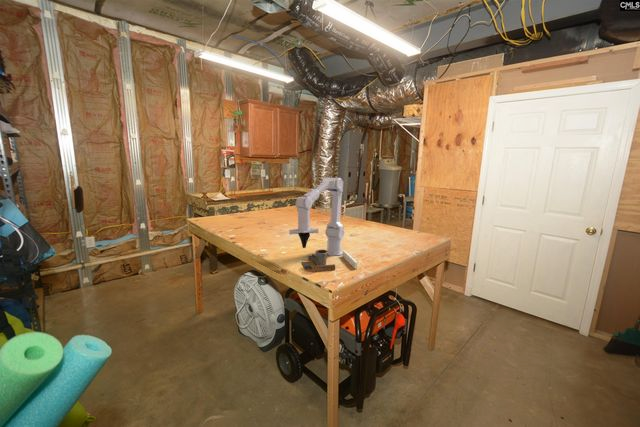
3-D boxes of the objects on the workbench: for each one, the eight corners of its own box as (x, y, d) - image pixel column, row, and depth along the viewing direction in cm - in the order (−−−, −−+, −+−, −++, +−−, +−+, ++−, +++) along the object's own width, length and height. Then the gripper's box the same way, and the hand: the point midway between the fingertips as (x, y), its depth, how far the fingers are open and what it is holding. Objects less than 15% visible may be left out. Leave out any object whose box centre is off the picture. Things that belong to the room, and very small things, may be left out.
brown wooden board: (308, 259, 153) (308, 255, 152) (326, 258, 155) (326, 254, 155) (315, 271, 137) (315, 266, 136) (335, 269, 139) (335, 265, 139)
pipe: (317, 260, 153) (317, 245, 152) (330, 267, 142) (330, 252, 141) (307, 262, 150) (307, 247, 148) (320, 269, 139) (320, 254, 138)
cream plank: (342, 256, 159) (342, 250, 158) (344, 256, 159) (344, 250, 159) (355, 269, 140) (355, 262, 139) (357, 269, 140) (357, 262, 140)
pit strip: (301, 262, 149) (301, 262, 148) (308, 262, 149) (308, 261, 149) (305, 269, 139) (305, 269, 139) (312, 269, 140) (312, 268, 140)
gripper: (290, 223, 134) (290, 250, 137) (319, 222, 137) (319, 248, 140) (288, 220, 141) (288, 246, 143) (316, 219, 144) (316, 244, 147)
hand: (303, 247), depth 142 cm, fingers closed
